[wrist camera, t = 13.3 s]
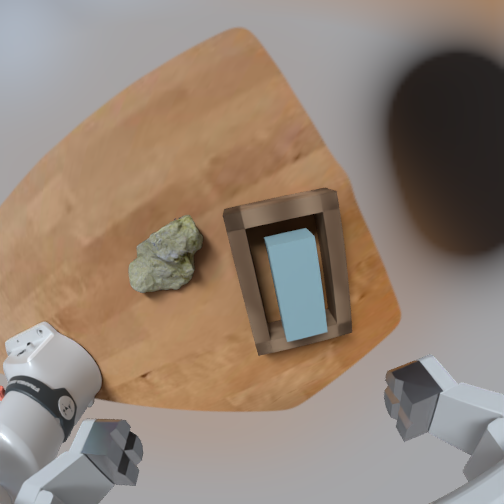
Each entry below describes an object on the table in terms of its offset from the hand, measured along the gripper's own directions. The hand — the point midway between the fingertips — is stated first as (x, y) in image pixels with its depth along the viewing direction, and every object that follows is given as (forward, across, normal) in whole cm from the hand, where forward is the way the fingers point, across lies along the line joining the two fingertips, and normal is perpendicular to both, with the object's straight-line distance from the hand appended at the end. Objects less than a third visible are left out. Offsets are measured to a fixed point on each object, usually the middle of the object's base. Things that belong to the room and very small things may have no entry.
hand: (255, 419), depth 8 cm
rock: (+32, +10, +2) cm, 33 cm away
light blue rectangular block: (+28, -5, +8) cm, 29 cm away
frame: (+31, -5, +8) cm, 32 cm away
